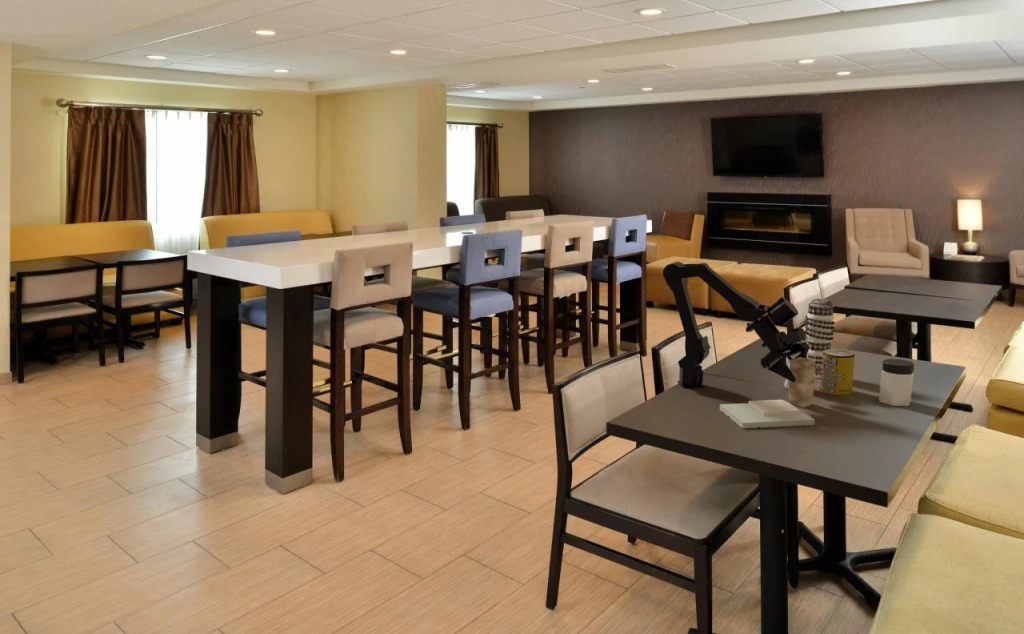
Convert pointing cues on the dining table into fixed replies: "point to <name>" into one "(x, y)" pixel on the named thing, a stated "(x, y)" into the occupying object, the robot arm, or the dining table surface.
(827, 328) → the decorative candle
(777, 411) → the board
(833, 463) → the dining table surface
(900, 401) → the jar
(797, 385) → the pillar block
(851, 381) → the beverage can
